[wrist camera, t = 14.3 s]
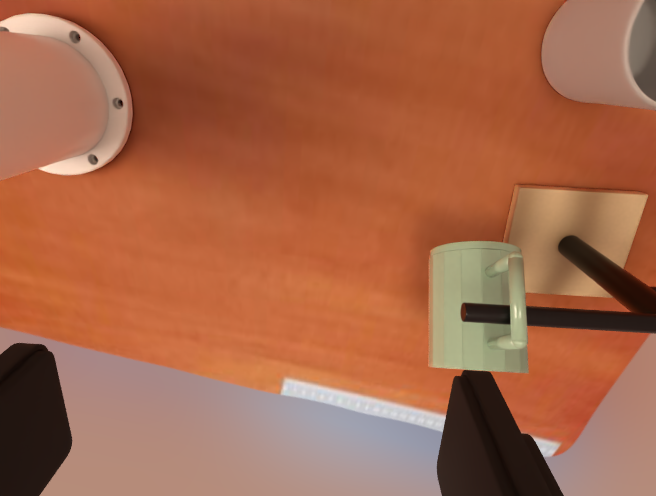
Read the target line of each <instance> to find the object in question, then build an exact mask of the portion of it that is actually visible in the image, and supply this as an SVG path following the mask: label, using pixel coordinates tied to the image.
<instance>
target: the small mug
mask: <svg viewBox="0 0 656 496" xmlns="http://www.w3.org/2000/svg"><path fill="white" fill-rule="evenodd" d="M464 302H466V303H482V304H499V305H510V324H511V325H506V324H490V323H473V322H463V321H462V319H461V314H460V311H461V305H462V303H464ZM527 344H528V333H527V314H526V295H525V276H524V258H523V255H522V250H521V249H520V248H519V247H517V246H515V245H512V244H508V243H502V242H494V241H464V242H455V243H449V244H444V245H441V246H438V247H435V248H433V249H432V250H431V251H430V259H429V367H434V368H450V369H466V370H482V371H498V372H514V373H529V372H528V353H527Z"/></svg>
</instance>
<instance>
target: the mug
mask: <svg viewBox="0 0 656 496" xmlns="http://www.w3.org/2000/svg"><path fill="white" fill-rule="evenodd" d="M541 60H542V67H543V71H544V74H545V76H546V78H547V80H548V82H549V83H550V85H551V86H552V87H553V88H554V89H555V90H556V91H557V92H558V93H559V94H561V95H562V96H564V97H566V98H568V99H571V100H574V101H578V102H585V103H598V104H608V105H616V106H624V107H632V108H640V109H649V110H656V0H567V1H566V2H565V3H564V4H563V5H562V6H561V7H560V8H559V10H558V11H557V12H556V13H555V15H554V16H553V18H552V19H551V21H550V23H549V25H548V27H547V30H546V32H545V35H544V39H543V43H542V50H541Z"/></svg>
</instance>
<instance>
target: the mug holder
mask: <svg viewBox="0 0 656 496" xmlns="http://www.w3.org/2000/svg"><path fill="white" fill-rule="evenodd" d="M647 198H648V195H647V194H644V193H642V192H639V191H622V190H605V189H587V188H570V187H553V186H536V185H519V184H515V188H514V192H513V197H512V202H511V206H510V211H509V215H508V220H507V224H506V229H505V234H504V238H503V243H508V244H512V245H515V246H517V247H519V248H520V249H521V250H522V255H523V258H524V276H525V293H541V294H558V295H575V296H592V297H608V298H615V299H616V300H618V301H619V302H620V303H621V304H622V305H624V306H625V307H626V308H627V309H628V310H630V311H631V312H616V311H600V310H583V309H566V308H549V307H533V306H526V314H527V326H540V327H556V328H573V329H590V330H606V331H623V332H640V333H656V287H649V286H647V285H646V284H644V283H643V282H641V281H640V280H639V279H637V278H636V277H634V276H633V275H631V274H630V273H629V272H627V271H626V270H624V266H625V263H626V260H627V257H628V254H629V251H630V248H631V245H632V242H633V239H634V236H635V233H636V230H637V227H638V224H639V221H640V218H641V215H642V212H643V209H644V206H645V203H646V201H647ZM460 314H461V319H462V321H463V322H473V323H490V324H506V325H511V324H510V305H499V304H482V303H466V302H464V303H462V305H461V311H460Z"/></svg>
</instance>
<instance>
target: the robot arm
mask: <svg viewBox="0 0 656 496" xmlns="http://www.w3.org/2000/svg"><path fill="white" fill-rule="evenodd" d="M79 35H80V37H81V38H80V40H79V38H78V37H79ZM121 100H122V102H123V106H122V105H121V104H120V101H121ZM132 117H133V110H132V98H131V94H130V90H129V86H128V83H127V80H126V78H125V76H124V73H123V71H122V69H121V67H120V66H119V64H118V63H117V61H116V59H115V58H114V56H113V55H112V54H111V52H110V51H109V50H108V49H107V48H106V47H105V45H104V44H103V43H102V42H101V41H100V40H98V39H97V38H96V37H95V36H94V35H92V34H91V33H90V32H89V31H87V30H86V29H84V28H82V27H81V26H79V25H77V24H75V23H74V22H71V21H68V20H66V19H63V18H60V17H56V16H51V15H47V14H36V13H27V14H21V15H15V16H12V17H10V18H8V19H5V20H3V21H1V22H0V181H1V180H4V179H7V178H10V177H14V176H17V175H20V174H23V173H26V172H29V171H32V170H35V169H40V170H43V171H46V172H49V173H53V174H59V175H80V174H84V173H88V172H91V171H94V170H96V169H99V168H101V167H103V166H104V165H106V164H107V163H109V162H110V161H112V160H113V159H114V158H115V157H116V156H117V155H118V154H119V153H120V151H121V150H122V148H123V146H124V145H125V143H126V142H127V139H128V136H129V133H130V130H131V125H132ZM96 157H97V158H98V160H97V159H96ZM71 446H72V436H71V431H70V427H69V422H68V418H67V413H66V408H65V404H64V399H63V395H62V390H61V386H60V381H59V376H58V372H57V367H56V362H55V358H54V355H53V353H52V352H50V351H48V349H47V348H46V346H44V345H42V344H26V343H16V344H13V345H12V346H10V347H9V348H8V349H7V350H5V351H4V352H3V353H2V354H1V355H0V496H39V495H40V494H41V492H42V491H43V490H44V488H45V487H46V485H47V484H48V483H49V481H50V480H51V478H52V477H53V476H54V474H55V473H56V471H57V470H58V469H59V467H60V466H61V464H62V463H63V461H64V460H65V459H66V457H67V456H68V454H69V452H70V449H71ZM437 475H438V480H439V485H440V489H441V493H442V496H564V495H563V494H562V492H561V490H560V488H559V486H558V484H557V482H556V480H555V479H554V476H553V475H552V473H551V471H550V469H549V467H548V465H547V463H546V461H545V459H544V457H543V455H542V454H541V452H540V450H539V448H538V446H537V444H536V442H535V441H534V439H533V438H532V437H531V436H530V435H528V434H521V432H520V430H519V428H518V426H517V424H516V422H515V420H514V418H513V416H512V414H511V412H510V410H509V408H508V406H507V404H506V402H505V400H504V398H503V396H502V394H501V392H500V390H499V388H498V386H497V384H496V382H495V380H494V378H493V376H492V374H491V373H490V372H488V371H473V370H464V371H463V372H462V375H461V376H455V377H454V380H453V384H452V389H451V394H450V399H449V404H448V409H447V415H446V420H445V425H444V430H443V435H442V440H441V445H440V450H439V455H438V461H437Z"/></svg>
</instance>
